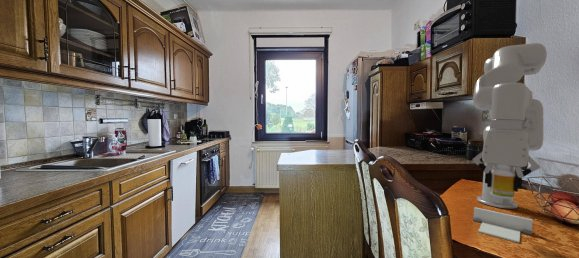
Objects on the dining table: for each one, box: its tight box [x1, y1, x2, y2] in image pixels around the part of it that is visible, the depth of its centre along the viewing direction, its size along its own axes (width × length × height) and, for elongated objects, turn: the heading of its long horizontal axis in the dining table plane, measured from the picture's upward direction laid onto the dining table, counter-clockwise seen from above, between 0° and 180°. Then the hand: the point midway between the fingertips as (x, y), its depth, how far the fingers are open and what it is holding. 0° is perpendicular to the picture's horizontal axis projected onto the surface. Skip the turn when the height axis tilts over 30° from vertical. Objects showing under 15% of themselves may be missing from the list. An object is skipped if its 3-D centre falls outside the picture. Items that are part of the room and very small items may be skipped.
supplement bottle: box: [490, 165, 517, 199], centre depth 75 cm, size 5×5×10 cm
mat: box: [477, 222, 521, 244], centre depth 75 cm, size 9×9×1 cm
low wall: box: [472, 207, 534, 235], centre depth 80 cm, size 3×14×4 cm, turn 47°
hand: (502, 187), depth 75 cm, fingers closed on supplement bottle, 5 cm apart
